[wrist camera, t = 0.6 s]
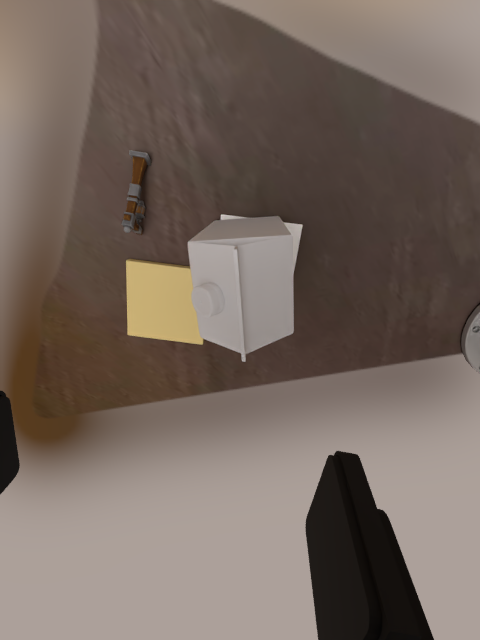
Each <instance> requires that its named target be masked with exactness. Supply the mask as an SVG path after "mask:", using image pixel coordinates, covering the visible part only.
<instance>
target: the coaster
mask: <svg viewBox="0 0 480 640" xmlns="http://www.w3.org/2000/svg"><path fill="white" fill-rule="evenodd" d="M126 274H127V321H128V335H132V336H139V337H147V338H155V339H163V340H170V341H178V342H186V343H194V344H201V345H203V342H204V339H203V338H201V337H200V333H199V328H198V321H197V313H196V311H195V309H194V307H193V304H192V298H191V294H192V290H193V283H192V276H191V268H190V266H182V265H174V264H166V263H159V262H151V261H143V260H135V259H128V260H126Z"/></svg>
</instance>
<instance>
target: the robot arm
mask: <svg viewBox="0 0 480 640" xmlns="http://www.w3.org/2000/svg"><path fill="white" fill-rule="evenodd" d="M461 347H462V352H463V355H464V357H465V359H466V361H467V362H468V363H469V364H470V365H471V367H473V368H474V369H475V370H476V371H477V372H479V373H480V305H479V306H478V307H477V308H476V309H475V310H474V311H473V313H472V314H471V316H470V317H469V318H468V320H467V322H466V324H465V327H464V329H463V333H462V339H461ZM18 470H19V458H18V451H17V445H16V437H15V431H14V425H13V417H12V410H11V404H10V400H9V398H7V397H6V394H5V393H4V392H3V391H0V494H1V493H2V492H3V491H4V490H5V488H6V487H7V486H8V485H9V484H10V483H11V481H12V480H13V479H14V478H15V476H16V475H17V473H18ZM306 537H307V546H308V554H309V563H310V572H311V580H312V589H313V598H314V606H315V615H316V624H317V632H318V640H434V638H433V636H432V633H431V630H430V628H429V625H428V623H427V620H426V617H425V614H424V612H423V609H422V606H421V603H420V601H419V598H418V595H417V593H416V590H415V587H414V585H413V582H412V579H411V577H410V574H409V571H408V569H407V566H406V564H405V561H404V558H403V555H402V552H401V550H400V547H399V544H398V542H397V539H396V536H395V534H394V531H393V528H392V525H391V523H390V521H389V518H388V516H387V514H386V513H385V512H384V511H383V510H380V509H377V507H376V504H375V501H374V498H373V495H372V492H371V489H370V487H369V484H368V481H367V478H366V475H365V472H364V469H363V466H362V463H361V461H360V458H359V456H358V455H356V454H352V453H346V452H341V451H336V453H335V454H334V456H333V455H329V456H328V458H327V461H326V464H325V467H324V469H323V472H322V476H321V478H320V481H319V484H318V486H317V489H316V492H315V495H314V499H313V501H312V504H311V507H310V510H309V512H308V515H307V519H306Z"/></svg>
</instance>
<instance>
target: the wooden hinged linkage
mask: <svg viewBox="0 0 480 640" xmlns="http://www.w3.org/2000/svg"><path fill="white" fill-rule="evenodd" d="M129 151H130V154H129V155H130V156H131V158H132V159H133V178H132V184H130V188H129V192H128V195H129V197H127V201H128V204H127V209H126V212H124V217H123V222H122V225H123V226H124V231H125V232H127V233H129V232H131V229H132V231H133V232H135V233H136V234H139V235H142V232H143V230H142V229H141V227H140V224H139V222H142V221H141V218H145V216H144V212H145V209H146V207H145V206H144V202H143V201H138V200H140V195H141V191H142V188H141V183H142V179H143V176H144V172H145V169H146V167H147V165H150V166H151V160H150V158H149V156H148V154H147V153H143V152H137V151H131V150H129ZM136 218H137V219H136ZM138 224H139V225H138Z"/></svg>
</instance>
